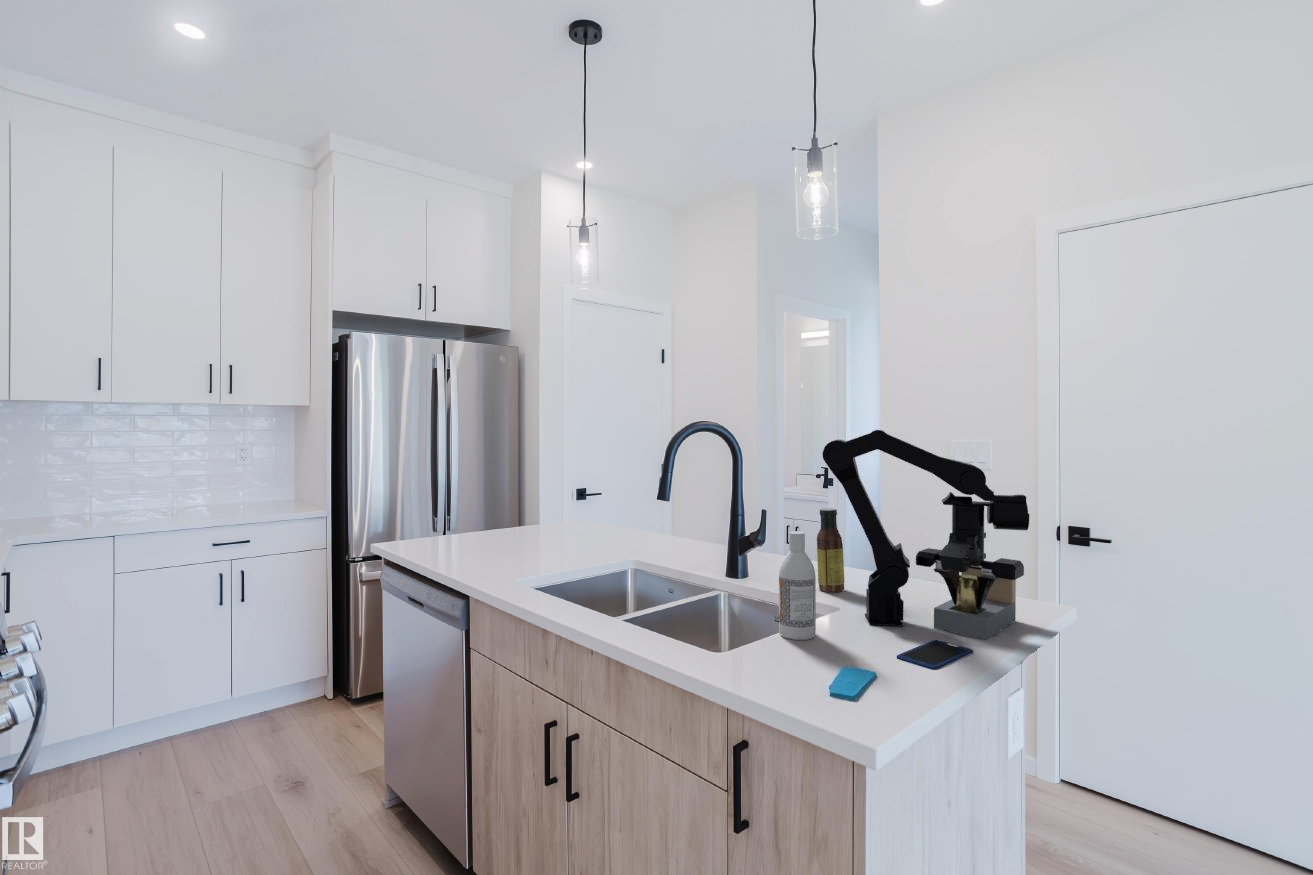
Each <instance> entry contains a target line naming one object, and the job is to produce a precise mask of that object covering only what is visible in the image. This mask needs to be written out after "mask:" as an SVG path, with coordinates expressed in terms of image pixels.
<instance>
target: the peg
mask: <svg viewBox="0 0 1313 875" xmlns="http://www.w3.org/2000/svg"><path fill="white" fill-rule="evenodd" d="M977 595H978V579H977V577H976V576H971V575H961V574H959V575H957V584H956V611H961V612H966V613H971V614H976V615H977V614H979V609H977Z"/></svg>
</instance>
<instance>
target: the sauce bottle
mask: <svg viewBox="0 0 1313 875" xmlns="http://www.w3.org/2000/svg"><path fill="white" fill-rule="evenodd" d="M819 516H820V528H819V531H818V533H817V535H816V558H817V559H816V560H817V561H816V562H817V563H816V564H817V583H818V589H819V590H820V591H822V592H826V593H840V592H843V591H844V590H845V566H844V565H845V564H844V560H845V559H844V546H843V545H844V544H843V539H842V536H841V534H840V532H839V530H838V524H837V516H838V511H837V509H836V508H829V507H828V508H820V509H819Z"/></svg>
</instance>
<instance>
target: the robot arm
mask: <svg viewBox="0 0 1313 875" xmlns="http://www.w3.org/2000/svg"><path fill="white" fill-rule="evenodd" d="M822 450H823V451H822V460H823V461H824V463H825V465H826V466H827V467H828V468H829V470H830V471H831V472H832V474H833V475H834V477H835V478H836V479H837V480H838V482H840V484H841V485H842V487H843V489H844V491H845V493H846V496H847V498H848V500H849V502H850V504H851V506H852V508H853V511H854V512H855V515H856V517H857V519H858V521H859V524H860V525H861V528H862V529H863V531H864V534H865V536H866V538H867V540H868V542H869V545H870V547H871V550H872V551H871V552H872V555H873V559H874V563H875V567H876V570H874V571H873V572H871V574H870V575H869V576H868V583H867V588H866V589H865V593H866V598H865V600H866V602H865V603H866V604H865V605H866V606H865V607H866V609H865V610H866V612H865V613H864V617H865V619H866V621H867V623H868V624H869V625H871V626H874V625H875V626H895V627H896V626H898V627H901V626H902V627H903V624H904V623H903V621H904V600H903V599H902V598H901V595H902V594H901V592H900V591H899V589H900V588H902V587H904V586H905V585H906V584H907V583H908V581H909V578H910V573H909V568H910V569H911V565H910V559H909V558H908V557H907V556H906V555H905V553H904V550H903V546H902V543H897V544H896V545H895V544H894V543H893V541H892V540H891V539H890V538H889V536H888V535H887V533H886V531H885V528H884V526H883V523H882V521H881V519H880V518H879V516H878V513H877V511H876V509H875V507H874V505H873V503H872V501H871V499H870V497H869V494H868V492H867V490H866V488H865V486H864V484H863V482H862V480H861V478H860V474H859V469H858V465H857V461H856V458H857V457H860V456H863V455H865V454H867V453H871V452H873V451H880V452H882V453H886V454H887V455H891V457H894V458H897V459H899V460H901V461H904V462H905V463H907V464H909V465H913V466H915V467H917V468H919V469H921V470H924V471H926V472H928V473H930V474H933V476H934V475H935V476H936V477H937V478H938V479H940V480H941V481H943V482H945V483H946V484H947V485H949V486H951V487H952V488H953V489H955V490H957V491H958V492H960V493H962V494H963V495H965V496H963V495H962V496H960V495H957V496H956V495H954V493H953V492H952V491H950V492H949V493H948V494H947V496H946V497H944V498H942V500H941V503H942V504H943V505H944V506H951V507H952V508H951V510H952V511H951V513H952V516H951V517H952V518H951V520H952V521H951V522H952V523H951V525H952V526H951V532H950V533H949V536H948V542H947V544H945V545H944V546H943V548H942V549H936V548H930V547H929V548H924V549H922V550H919V551H918V552H917V553H916V555H915V565H916V566H920V567H927V568H931V567H933V566H935V568H933V571H934V572H935V573H938V574H939V575H940V576H941V577H942V578H943V581H945V584H946V586H947V589H948V591H949V594H950V597H951V599H952V600H953V603H954V604H955V605H956V584H957V575H960V573H961V572H966V571H968V569H969V568H972V569H979V570H981V572H982V574H981V575H979V576H977V579H978V595H977V609H981V608H982V606H983V603H984V601H985V599H986V597H987V594H988V592H989V590H990V588H991V586H992V585H993V583H994V582H995V580H997V579H999V578H1002V579H1008V580H1017V579H1018V580H1019V578H1021V577H1023V576H1024V575H1025V567H1024V563H1023V562H1022V561H1021V560H1018V559H1017V560H1016V559H1009V558H1003V557H1001V558H998V559H996V560H994V561H989V560H986V559H987V553H986V552H985V539H987V532H985V507H986V522H987V524H990V525H991V524H992V526H993V529H994V530H1003V531H1005V530H1009V531H1010V530H1011V531H1028V530H1029V526H1030V513H1029V510H1028V509H1029V508H1028V503H1027V496H1026V495H1024V494H1011V495H1010V494H1009V495H1008V494H1006V495H1005V494H1003V495H1002V494H995V492H994V490H992V489H990V488H989V486H988V485H987V484H986V483H987V477H986V474H985V473H984V471H983V470H982V469H981V468H980V467H978V466H976V465H974V464H972V463H967V462H964V461H960V460H956V459H951V458H948V457H944V456H943V457H942V456H939V455H937V454H934V453H933V452H930V451H927V450H925V449H923V448H921V447H918V446H916V445H914V444H911V443H909V442H908V441H904V440H902V439H900V438H898V437H895V436H893V435H890V434H888V433H887V432H886V431H884V430H882V429H875V430H872V431H871V432H870V433H867V434H863V435H861V436H860V435H859V437H855V438H852V439H850V440H844V439H834V440H831V441H830V442H828V443H826V445H825V446H824V448H823V449H822ZM966 495H967V496H966ZM972 495H975V496H976V497H977V498H979V499H981V500H983V501H973V498H972Z"/></svg>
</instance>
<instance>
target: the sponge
mask: <svg viewBox="0 0 1313 875" xmlns="http://www.w3.org/2000/svg"><path fill="white" fill-rule="evenodd" d="M876 677H877V672H875V671H872V670H868V669H865V668H864V669H863V668H860V667H859V668H858V667H852V666H843V667H841V669H840V670H839V672H837V674H836V676H834V678H833V680H832V682H831V683H830V685H829V686H828V690H829V697H832V698H839V699H842V700H847V701H852V702H854V701H856V700H857V699H858V698H859V697H860V696H861V694H862V693H863V692H864V691H865V690H866V688H867V687H868V686H869V685H870V684H871V683H872V682H873V681H874V679H875V678H876Z"/></svg>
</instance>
